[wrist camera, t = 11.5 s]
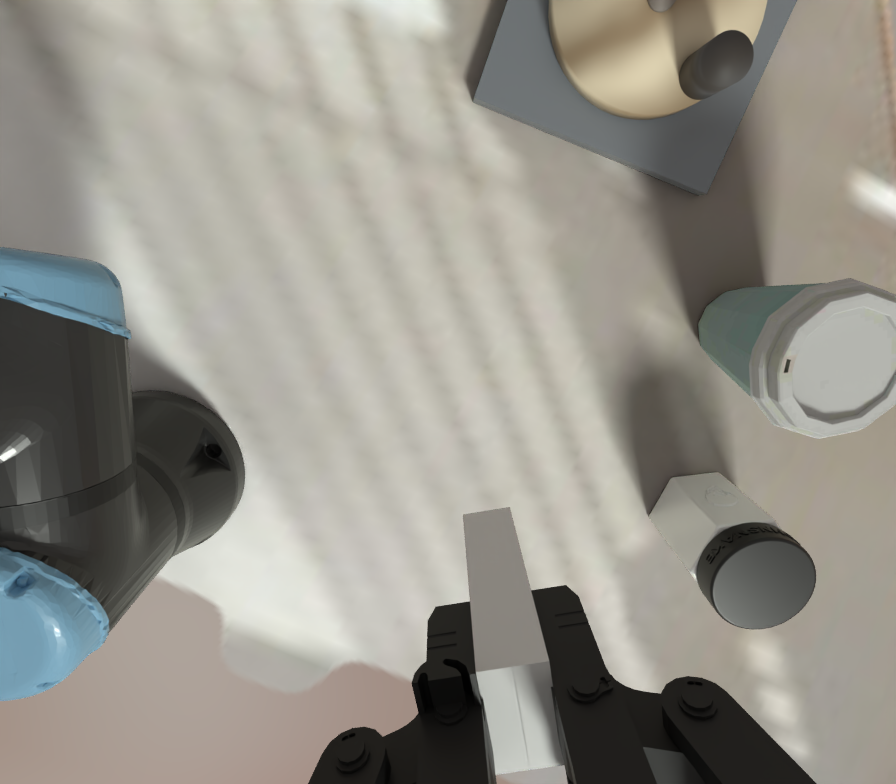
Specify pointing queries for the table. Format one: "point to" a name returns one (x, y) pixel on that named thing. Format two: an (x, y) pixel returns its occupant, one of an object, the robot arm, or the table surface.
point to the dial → (653, 50)
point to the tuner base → (623, 140)
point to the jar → (734, 551)
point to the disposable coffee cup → (808, 352)
